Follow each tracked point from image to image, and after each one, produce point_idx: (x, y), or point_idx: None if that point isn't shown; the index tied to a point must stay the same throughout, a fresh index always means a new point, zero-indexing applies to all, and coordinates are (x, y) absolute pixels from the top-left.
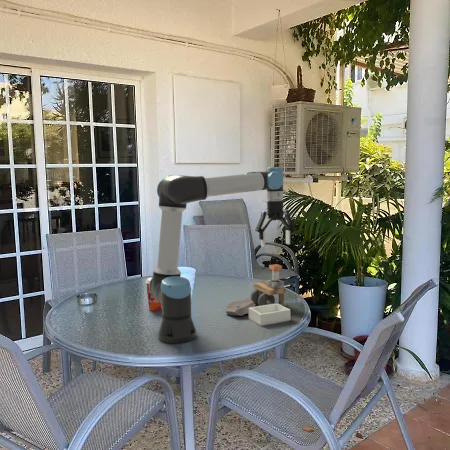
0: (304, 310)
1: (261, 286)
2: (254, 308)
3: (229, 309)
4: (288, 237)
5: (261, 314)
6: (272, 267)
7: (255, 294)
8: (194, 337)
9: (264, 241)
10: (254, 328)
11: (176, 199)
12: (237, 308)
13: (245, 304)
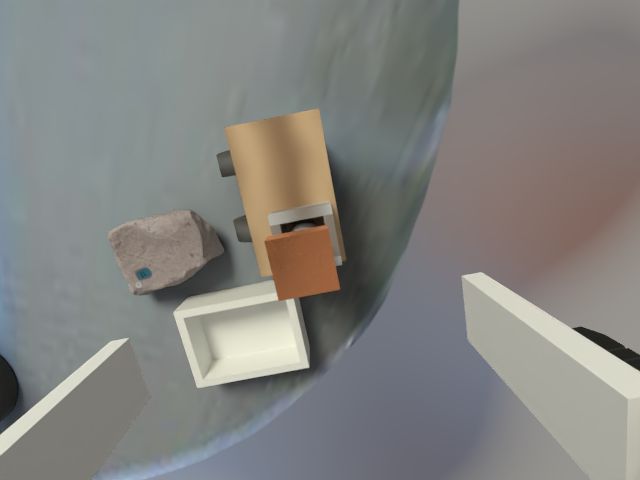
0: (394, 267)
1: (245, 202)
2: (196, 314)
3: (117, 256)
4: (520, 392)
5: (201, 386)
6: (275, 283)
7: (232, 174)
8: (11, 409)
9: (101, 453)
10: (188, 376)
11: None
12: (138, 289)
13: (170, 268)
